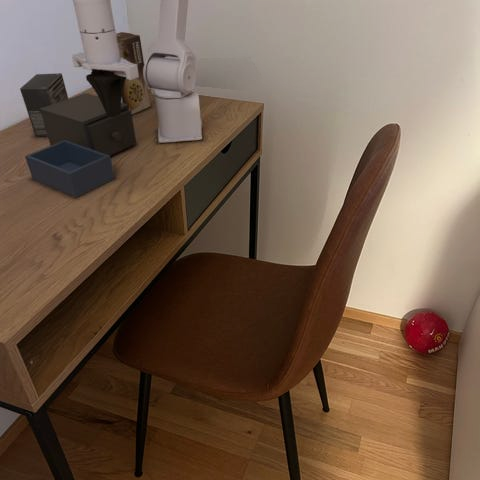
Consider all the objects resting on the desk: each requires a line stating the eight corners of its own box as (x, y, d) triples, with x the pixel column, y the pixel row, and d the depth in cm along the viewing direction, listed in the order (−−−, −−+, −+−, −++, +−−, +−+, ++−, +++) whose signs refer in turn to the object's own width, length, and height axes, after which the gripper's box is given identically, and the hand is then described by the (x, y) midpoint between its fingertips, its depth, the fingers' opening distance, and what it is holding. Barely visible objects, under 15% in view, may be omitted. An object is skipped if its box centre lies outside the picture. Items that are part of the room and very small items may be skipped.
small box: (48, 120, 115) (35, 72, 108) (75, 119, 115) (63, 72, 107) (33, 137, 107) (17, 87, 100) (61, 136, 107) (48, 87, 100)
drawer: (140, 144, 101) (135, 111, 96) (101, 162, 94) (94, 128, 90) (98, 130, 107) (91, 99, 102) (59, 146, 100) (49, 114, 96)
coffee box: (133, 102, 123) (121, 31, 112) (151, 107, 120) (141, 34, 109) (107, 113, 118) (92, 39, 107) (125, 118, 115) (111, 42, 104)
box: (114, 178, 91) (109, 155, 87) (76, 197, 85) (69, 173, 82) (71, 162, 97) (65, 139, 93) (32, 178, 91) (24, 155, 88)
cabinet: (135, 144, 103) (128, 104, 97) (92, 164, 96) (82, 121, 90) (94, 131, 109) (85, 92, 103) (51, 149, 102) (39, 108, 96)
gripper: (49, 29, 78) (71, 113, 88) (108, 40, 72) (124, 130, 81) (83, 21, 83) (100, 103, 92) (142, 31, 76) (154, 118, 85)
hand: (113, 115), depth 87 cm, fingers closed
